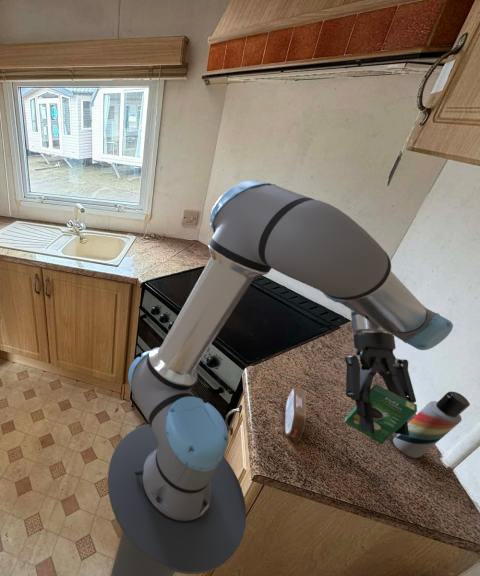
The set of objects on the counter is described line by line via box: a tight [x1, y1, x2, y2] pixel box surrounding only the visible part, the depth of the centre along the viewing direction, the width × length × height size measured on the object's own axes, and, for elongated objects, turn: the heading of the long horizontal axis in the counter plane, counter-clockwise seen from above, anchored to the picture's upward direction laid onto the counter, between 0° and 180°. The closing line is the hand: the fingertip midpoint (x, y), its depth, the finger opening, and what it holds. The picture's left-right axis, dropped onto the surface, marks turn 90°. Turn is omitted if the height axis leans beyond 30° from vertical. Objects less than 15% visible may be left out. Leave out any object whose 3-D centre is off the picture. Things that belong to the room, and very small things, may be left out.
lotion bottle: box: [392, 391, 471, 459], centre depth 74 cm, size 6×6×20 cm
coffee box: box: [344, 383, 418, 445], centre depth 73 cm, size 8×3×13 cm, turn 44°
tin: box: [284, 387, 307, 442], centre depth 81 cm, size 15×3×8 cm, turn 151°
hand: (384, 432), depth 71 cm, fingers closed on coffee box, 7 cm apart
